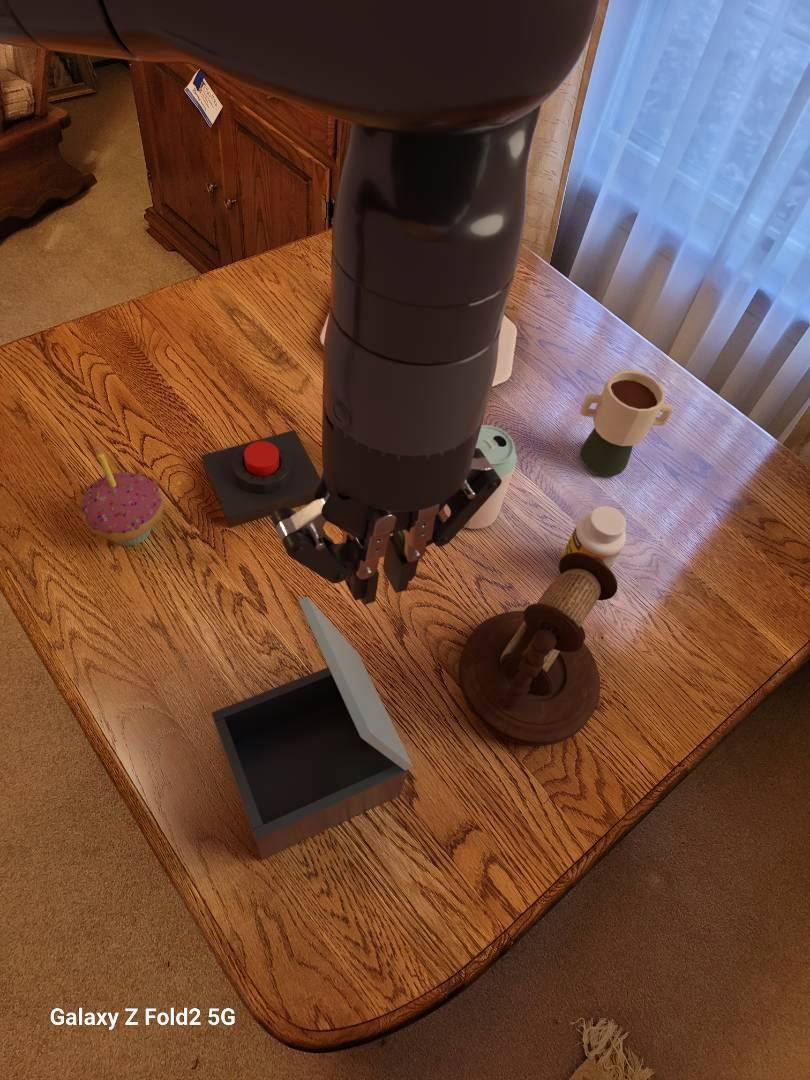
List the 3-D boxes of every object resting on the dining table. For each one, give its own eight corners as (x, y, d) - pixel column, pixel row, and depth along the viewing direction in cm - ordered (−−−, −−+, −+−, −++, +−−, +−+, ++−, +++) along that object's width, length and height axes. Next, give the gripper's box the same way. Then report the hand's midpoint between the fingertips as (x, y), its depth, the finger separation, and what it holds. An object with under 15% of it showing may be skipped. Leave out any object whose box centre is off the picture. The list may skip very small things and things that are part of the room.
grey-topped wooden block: (360, 737, 51) (370, 732, 51) (298, 601, 57) (307, 595, 57) (405, 770, 64) (413, 766, 64) (350, 656, 70) (358, 652, 70)
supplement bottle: (548, 560, 89) (573, 508, 80) (585, 545, 90) (613, 492, 82) (575, 597, 86) (603, 547, 78) (612, 580, 88) (644, 530, 79)
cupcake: (77, 523, 85) (47, 453, 75) (144, 488, 89) (123, 417, 79) (117, 573, 82) (90, 507, 72) (184, 534, 85) (167, 466, 76)
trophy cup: (638, 446, 101) (676, 374, 90) (644, 487, 97) (685, 416, 86) (559, 436, 100) (589, 363, 90) (562, 477, 96) (593, 405, 86)
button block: (229, 528, 87) (226, 507, 83) (203, 467, 91) (199, 445, 88) (325, 498, 90) (325, 477, 87) (295, 441, 95) (294, 419, 92)
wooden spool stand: (501, 598, 85) (545, 489, 68) (615, 671, 81) (692, 574, 65) (429, 694, 77) (460, 597, 61) (552, 780, 73) (620, 701, 57)
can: (453, 479, 94) (469, 412, 84) (505, 499, 93) (528, 433, 83) (433, 519, 90) (448, 453, 81) (487, 540, 89) (509, 476, 80)
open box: (261, 860, 66) (256, 839, 60) (220, 743, 72) (211, 712, 66) (399, 796, 71) (408, 770, 65) (350, 690, 77) (354, 656, 70)
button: (251, 480, 86) (250, 470, 85) (240, 456, 88) (239, 446, 87) (284, 471, 88) (283, 461, 86) (272, 447, 90) (271, 437, 88)
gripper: (494, 307, 38) (444, 512, 52) (232, 370, 33) (256, 575, 47) (574, 407, 34) (498, 597, 48) (293, 492, 30) (299, 675, 44)
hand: (378, 586), depth 48 cm, fingers closed
